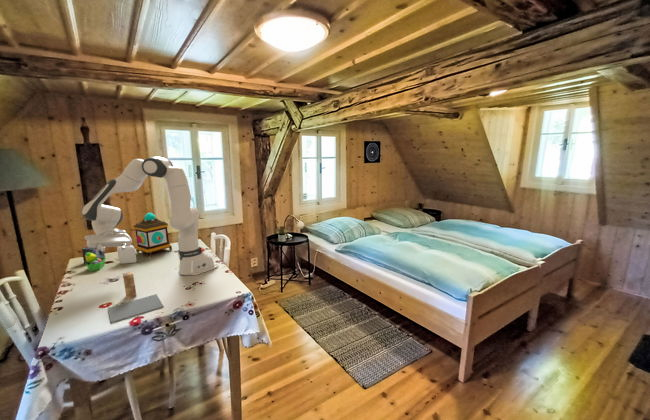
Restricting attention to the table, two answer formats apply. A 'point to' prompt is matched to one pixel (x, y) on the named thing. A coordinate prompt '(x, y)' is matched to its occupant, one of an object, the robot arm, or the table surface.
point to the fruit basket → (94, 262)
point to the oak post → (129, 285)
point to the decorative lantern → (151, 235)
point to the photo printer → (127, 254)
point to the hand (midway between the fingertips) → (114, 249)
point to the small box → (94, 251)
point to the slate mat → (134, 308)
